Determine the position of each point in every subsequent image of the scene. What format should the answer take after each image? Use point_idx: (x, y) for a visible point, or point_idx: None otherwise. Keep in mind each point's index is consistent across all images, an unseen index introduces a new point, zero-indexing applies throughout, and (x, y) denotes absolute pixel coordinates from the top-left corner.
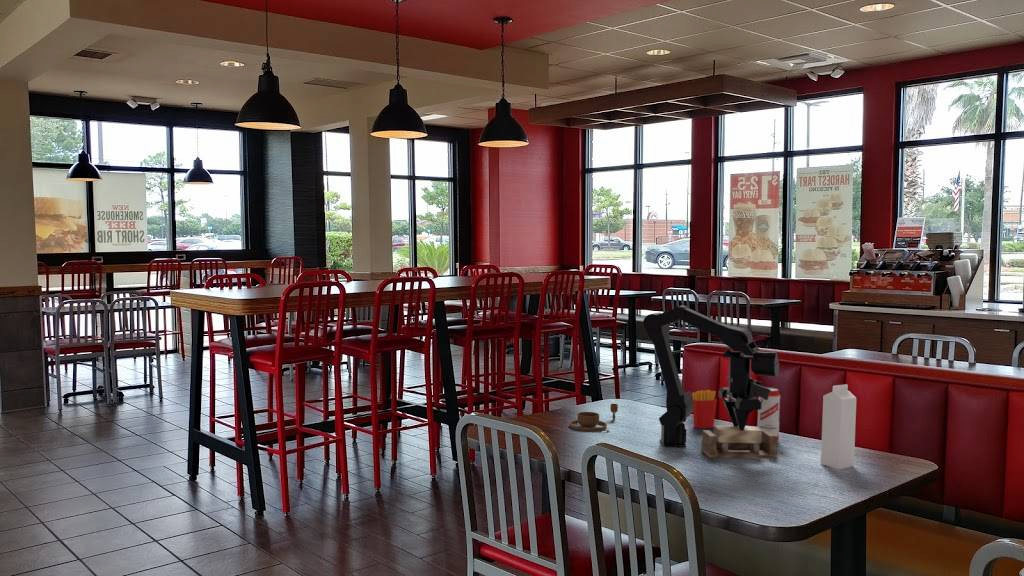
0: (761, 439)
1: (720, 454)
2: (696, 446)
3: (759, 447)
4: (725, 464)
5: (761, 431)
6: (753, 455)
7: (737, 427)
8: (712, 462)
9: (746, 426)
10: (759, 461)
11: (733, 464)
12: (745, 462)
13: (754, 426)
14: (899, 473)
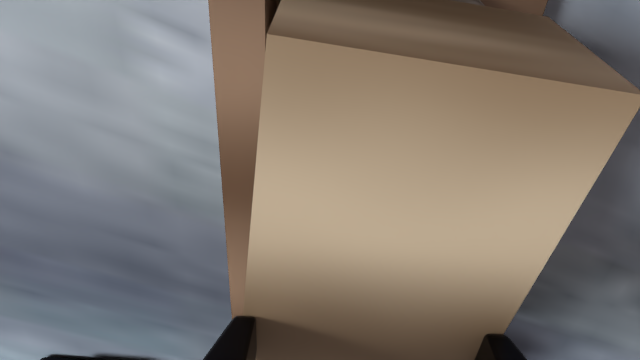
0: (567, 34)
1: None
2: (150, 317)
3: (481, 3)
4: (590, 312)
5: (634, 95)
6: None
7: (334, 343)
8: (521, 352)
9: (274, 222)
10: (636, 68)
11: (613, 275)
12: (607, 189)
13: (278, 91)
14: None
